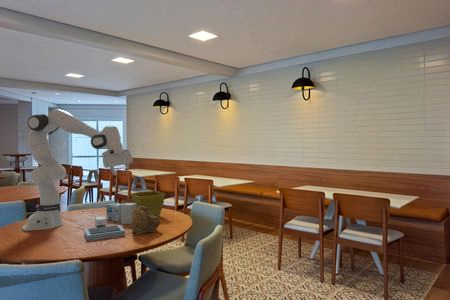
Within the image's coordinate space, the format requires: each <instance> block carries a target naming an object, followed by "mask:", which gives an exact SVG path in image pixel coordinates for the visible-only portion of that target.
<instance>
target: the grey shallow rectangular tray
mask: <svg viewBox="0 0 450 300" xmlns="http://www.w3.org/2000/svg"><path fill="white" fill-rule="evenodd" d="M125 232H126V230H125V229H124V228H123V227H122V226H121V225H120V224H117V225H110V226H109V225H108V226H107V225H106V227H99V228H95V227H93V228H87V229H84V236H85V239H86V241H87V242H91V241H97V240H99V241H100V240H103V239H105V240H106V239H110V238H111V239H113V238H119V237H125V235H126V233H125Z"/></svg>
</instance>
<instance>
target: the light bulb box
mask: <svg viewBox="0 0 450 300" xmlns="http://www.w3.org/2000/svg"><path fill="white" fill-rule="evenodd" d="M123 204H124V203H118V202H110V203H108V204H106V221H115V222H120V221H122V219H121V205H123Z"/></svg>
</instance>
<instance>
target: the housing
mask: <svg viewBox="0 0 450 300" xmlns="http://www.w3.org/2000/svg"><path fill="white" fill-rule="evenodd" d="M94 220H95V221H94V225H95V226H94V228H99V227H107V218H106V217H105V216H104V215H103V216H96V217H94Z"/></svg>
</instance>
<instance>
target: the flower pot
mask: <svg viewBox="0 0 450 300" xmlns="http://www.w3.org/2000/svg"><path fill="white" fill-rule="evenodd" d="M130 195H131V203H136V209H137V208H138V206H144V207H146V208H147V209H148V210H149V211H150V212H151V214H152V215H153V216H156V217H158V218H159V217H160V216H161V213H162V209H163V208H164V203H165V196H166V193H163V192H160V191H157V190H150V191H149V190H148V191H147V190H146V191H138V192H131V193H130Z"/></svg>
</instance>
